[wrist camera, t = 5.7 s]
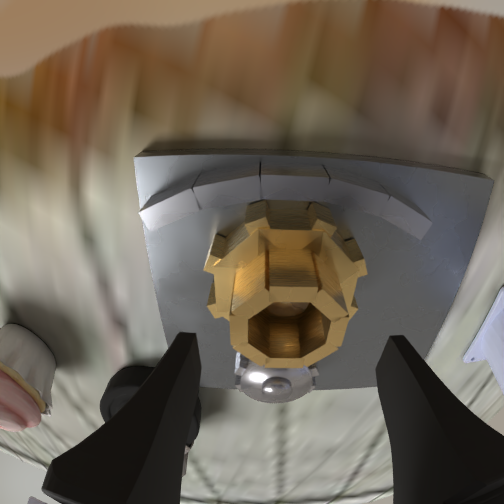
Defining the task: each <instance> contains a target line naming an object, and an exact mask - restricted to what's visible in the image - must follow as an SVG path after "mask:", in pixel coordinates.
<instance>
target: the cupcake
mask: <svg viewBox="0 0 504 504" xmlns="http://www.w3.org/2000/svg"><path fill="white" fill-rule="evenodd" d="M55 370H56V363H55V358H54V356H53V354H52V352H51V351H50V349H49V348H48V347H47V346H46V344H45V343H44V342H43V341H42V340H41V339H40V338H38V337H37V336H36V335H35V334H33V333H32V332H31V331H29V330H27V329H26V328H24V327H22V326H19V325H17V324H7V325H4V326H3V327H2V328H0V428H1V429H4V430H7V431H22V430H24V429H25V428H27V427H28V428H31V427H35V426H37V425H39V423H40V421H41V414H43V415H46V416H49V417H51V412H50V409H52V399H51V388H52V383H53V379H54V374H55Z"/></svg>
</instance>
